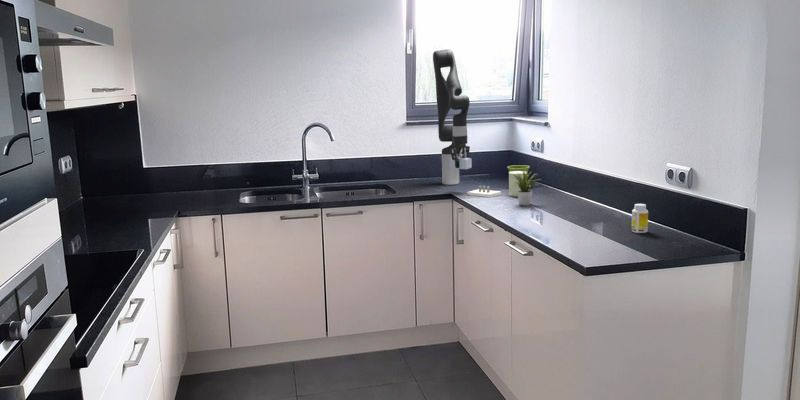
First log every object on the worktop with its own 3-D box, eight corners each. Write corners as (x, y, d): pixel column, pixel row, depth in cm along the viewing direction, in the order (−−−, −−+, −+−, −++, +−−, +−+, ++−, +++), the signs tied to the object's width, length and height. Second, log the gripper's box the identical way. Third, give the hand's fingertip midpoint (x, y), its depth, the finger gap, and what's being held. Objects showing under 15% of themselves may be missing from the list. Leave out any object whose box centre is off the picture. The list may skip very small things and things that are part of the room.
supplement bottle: (650, 231, 233) (650, 204, 232) (643, 234, 229) (644, 206, 228) (635, 229, 237) (636, 202, 235) (628, 232, 233) (629, 205, 231)
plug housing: (456, 166, 335) (455, 157, 334) (471, 167, 329) (471, 158, 328) (450, 168, 331) (449, 158, 330) (465, 169, 325) (465, 159, 324)
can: (530, 195, 315) (530, 171, 313) (515, 197, 312) (514, 173, 310) (520, 192, 324) (520, 169, 321) (505, 194, 320) (505, 171, 318)
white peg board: (478, 192, 330) (478, 183, 329) (501, 194, 321) (501, 185, 320) (467, 194, 323) (467, 186, 322) (490, 197, 314) (489, 188, 313)
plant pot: (502, 187, 341) (502, 167, 339) (516, 184, 348) (516, 164, 346) (520, 189, 332) (520, 168, 330) (534, 186, 340) (534, 166, 338)
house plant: (523, 209, 282) (523, 172, 279) (501, 204, 294) (501, 170, 291) (545, 204, 290) (545, 169, 287) (524, 200, 301) (524, 166, 298)
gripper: (462, 133, 334) (462, 164, 337) (445, 135, 324) (446, 168, 327) (473, 133, 329) (474, 165, 333) (457, 136, 319) (458, 169, 322)
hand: (460, 166), depth 330 cm, fingers closed on plug housing, 5 cm apart
